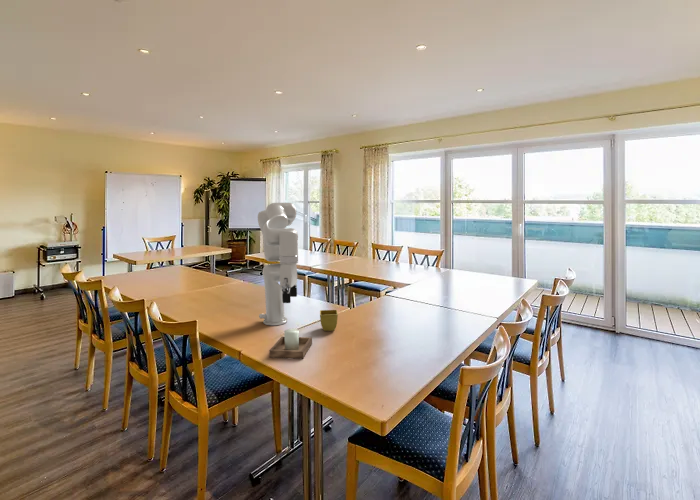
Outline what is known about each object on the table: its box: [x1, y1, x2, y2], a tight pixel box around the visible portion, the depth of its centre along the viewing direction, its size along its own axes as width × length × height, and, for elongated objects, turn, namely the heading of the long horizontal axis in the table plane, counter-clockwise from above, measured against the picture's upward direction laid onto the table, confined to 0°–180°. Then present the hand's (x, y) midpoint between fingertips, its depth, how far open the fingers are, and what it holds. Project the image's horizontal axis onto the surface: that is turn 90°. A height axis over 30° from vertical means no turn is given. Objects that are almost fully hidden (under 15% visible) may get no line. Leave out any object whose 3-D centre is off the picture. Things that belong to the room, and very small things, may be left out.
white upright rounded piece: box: [283, 328, 300, 351], centre depth 150 cm, size 6×6×8 cm
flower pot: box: [319, 309, 339, 332], centre depth 177 cm, size 9×9×9 cm
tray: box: [268, 336, 313, 360], centre depth 151 cm, size 14×16×3 cm
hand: (290, 299), depth 149 cm, fingers open, 9 cm apart
